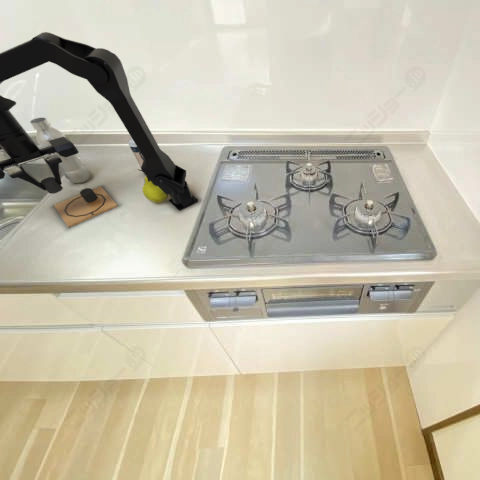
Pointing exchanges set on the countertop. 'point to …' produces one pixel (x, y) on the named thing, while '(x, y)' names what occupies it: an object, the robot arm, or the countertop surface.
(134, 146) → the beer can
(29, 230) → the countertop surface
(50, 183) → the eye dot left
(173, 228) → the countertop surface
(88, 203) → the board
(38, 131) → the plastic bottle
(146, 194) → the fruit
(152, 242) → the countertop surface
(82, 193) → the eye dot right
